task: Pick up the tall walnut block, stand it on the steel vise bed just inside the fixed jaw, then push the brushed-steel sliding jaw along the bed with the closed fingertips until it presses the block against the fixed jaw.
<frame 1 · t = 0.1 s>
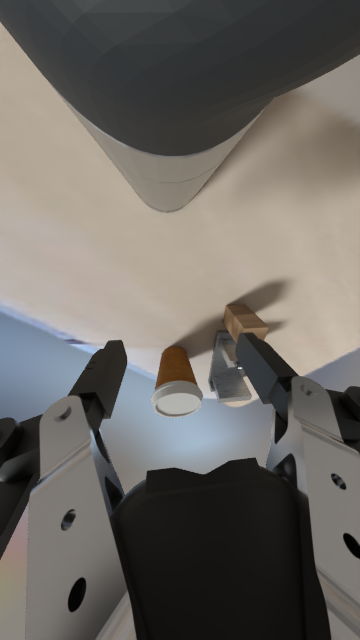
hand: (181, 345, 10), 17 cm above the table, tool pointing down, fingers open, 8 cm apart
walnut block: (233, 313, 29), on the table
sliding jaw: (244, 353, 30), point 4 cm above the table, slide at 0.0 cm
disposable coffee cup: (174, 354, 35), on the table
vise bed: (230, 358, 37), on the table
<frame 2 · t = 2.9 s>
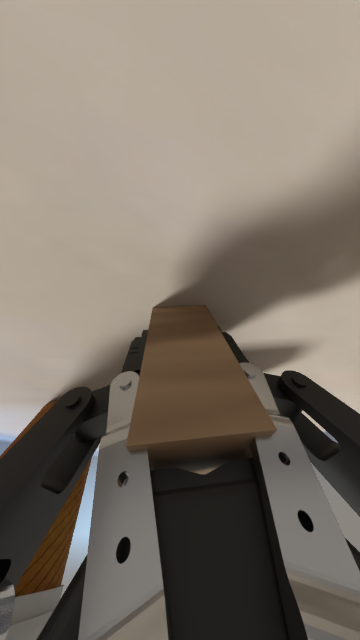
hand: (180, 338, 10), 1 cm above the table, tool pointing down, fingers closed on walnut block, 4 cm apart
walnut block: (179, 328, 11), on the table, touching gripper
disposable coffee cup: (74, 412, 17), on the table
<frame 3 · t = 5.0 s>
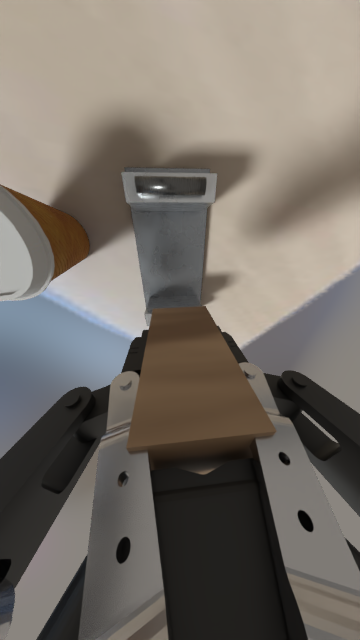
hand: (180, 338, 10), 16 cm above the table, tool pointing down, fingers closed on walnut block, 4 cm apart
walnut block: (179, 329, 11), point 15 cm above the table, touching gripper
sliding jaw: (170, 194, 15), point 5 cm above the table, slide at 0.0 cm
disposable coffee cup: (66, 238, 20), on the table
vise bed: (171, 256, 22), on the table
when the fingers open (3 cm above the table, at t = 7.3 s): walnut block drops 1 cm, resting on vise bed.
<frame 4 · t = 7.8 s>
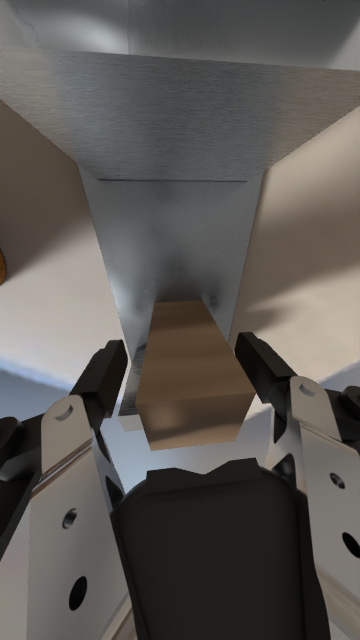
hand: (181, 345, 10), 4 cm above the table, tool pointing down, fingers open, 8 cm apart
walnut block: (179, 322, 12), point 1 cm above the table, touching vise bed
sliding jaw: (181, 87, 4), point 4 cm above the table, slide at 0.0 cm
vise bed: (176, 277, 11), on the table
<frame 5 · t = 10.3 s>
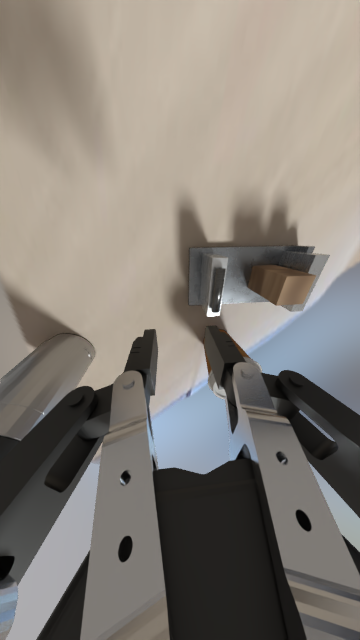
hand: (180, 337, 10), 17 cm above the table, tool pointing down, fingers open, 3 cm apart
walnut block: (260, 276, 25), point 1 cm above the table, touching vise bed
sliding jaw: (211, 285, 22), point 5 cm above the table, slide at 0.0 cm
disposable coffee cup: (215, 339, 34), on the table
vise bed: (239, 276, 26), on the table
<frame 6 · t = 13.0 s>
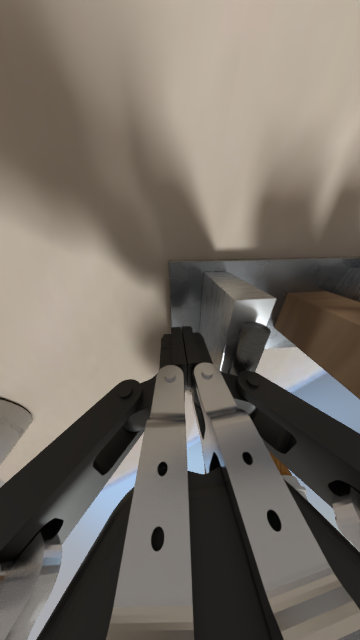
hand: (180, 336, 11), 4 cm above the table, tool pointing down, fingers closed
walnut block: (298, 310, 14), point 1 cm above the table, touching vise bed
sliding jaw: (223, 338, 11), point 5 cm above the table, slide at 0.9 cm, touching gripper
disposable coffee cup: (217, 392, 22), on the table
vise bed: (259, 309, 15), on the table
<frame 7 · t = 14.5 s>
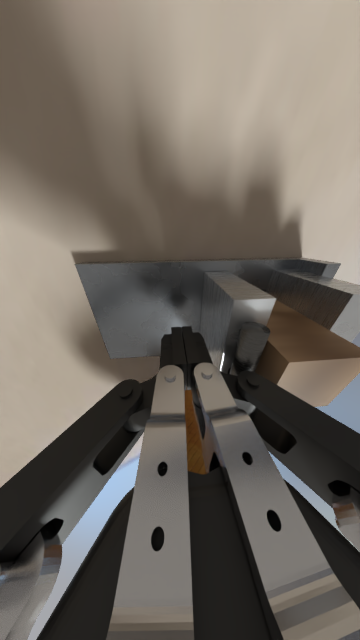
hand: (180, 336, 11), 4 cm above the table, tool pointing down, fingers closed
walnut block: (240, 313, 14), point 1 cm above the table, touching sliding jaw, vise bed
sliding jaw: (223, 338, 11), point 4 cm above the table, slide at 8.0 cm, touching gripper, walnut block
disposable coffee cup: (174, 395, 22), on the table
vise bed: (194, 312, 14), on the table
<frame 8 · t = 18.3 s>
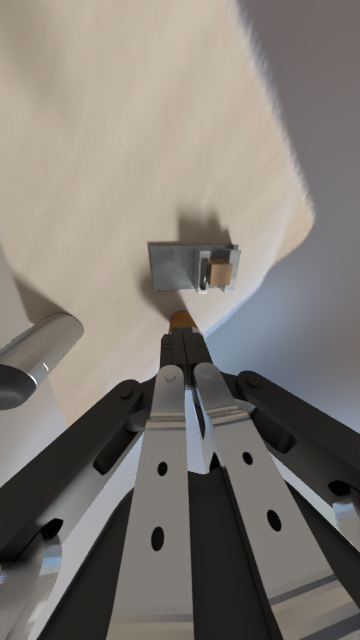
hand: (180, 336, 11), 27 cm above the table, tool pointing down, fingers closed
walnut block: (210, 267, 34), point 1 cm above the table, touching vise bed
sliding jaw: (201, 271, 30), point 4 cm above the table, slide at 8.0 cm
disposable coffee cup: (181, 320, 42), on the table
vise bed: (191, 268, 34), on the table
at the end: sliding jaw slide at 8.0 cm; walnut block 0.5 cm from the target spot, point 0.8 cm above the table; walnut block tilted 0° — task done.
